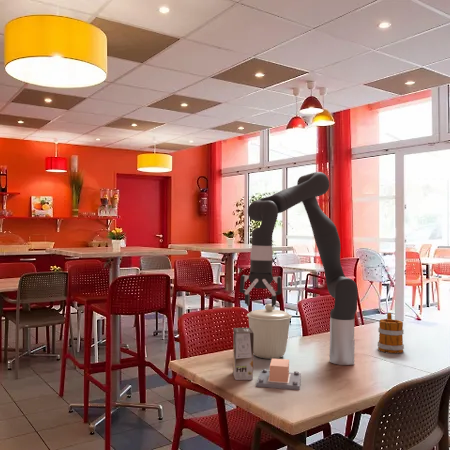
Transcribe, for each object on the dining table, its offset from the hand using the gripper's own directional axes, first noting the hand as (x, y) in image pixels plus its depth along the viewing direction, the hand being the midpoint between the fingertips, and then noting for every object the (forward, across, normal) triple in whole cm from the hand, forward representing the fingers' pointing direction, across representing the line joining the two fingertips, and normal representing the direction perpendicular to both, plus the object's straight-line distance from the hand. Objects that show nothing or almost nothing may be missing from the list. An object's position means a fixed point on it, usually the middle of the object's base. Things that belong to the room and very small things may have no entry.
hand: (260, 306), depth 167 cm
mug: (+24, -52, -55) cm, 80 cm away
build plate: (+25, -7, +1) cm, 26 cm away
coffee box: (+25, +6, -2) cm, 26 cm away
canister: (+25, -1, -32) cm, 40 cm away
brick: (+24, -7, +1) cm, 25 cm away
